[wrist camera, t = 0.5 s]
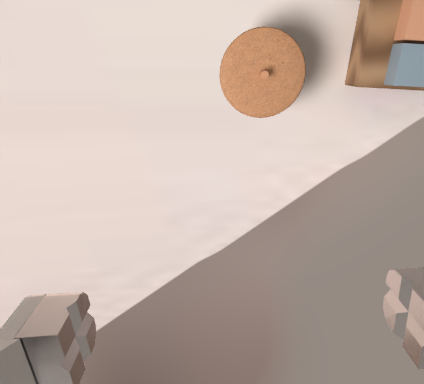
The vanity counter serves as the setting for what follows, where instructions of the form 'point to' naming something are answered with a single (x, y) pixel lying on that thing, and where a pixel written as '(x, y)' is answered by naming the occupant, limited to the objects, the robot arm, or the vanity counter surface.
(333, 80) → the vanity counter surface
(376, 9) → the cardboard box
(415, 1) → the tile
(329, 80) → the vanity counter surface
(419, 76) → the tile
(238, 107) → the lidded jar
